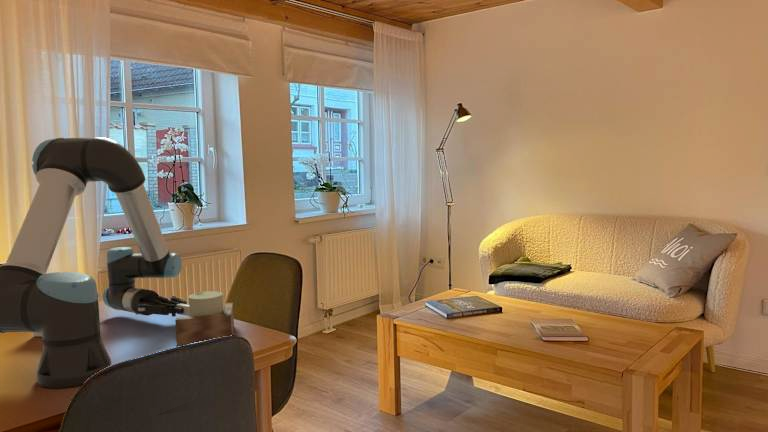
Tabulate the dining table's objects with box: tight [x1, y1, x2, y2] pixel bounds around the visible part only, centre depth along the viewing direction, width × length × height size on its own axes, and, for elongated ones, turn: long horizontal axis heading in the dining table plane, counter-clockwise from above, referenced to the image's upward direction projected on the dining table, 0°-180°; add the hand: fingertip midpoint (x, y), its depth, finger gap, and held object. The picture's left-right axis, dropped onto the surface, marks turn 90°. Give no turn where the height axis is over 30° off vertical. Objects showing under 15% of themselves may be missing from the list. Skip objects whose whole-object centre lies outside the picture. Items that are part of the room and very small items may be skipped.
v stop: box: [175, 302, 235, 347], centre depth 161 cm, size 11×20×7 cm, turn 147°
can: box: [188, 290, 224, 317], centre depth 162 cm, size 9×9×12 cm
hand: (193, 311), depth 165 cm, fingers closed
